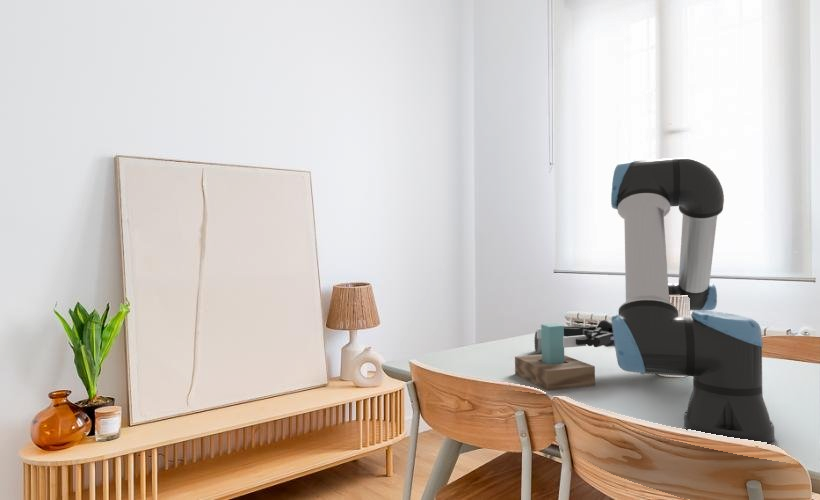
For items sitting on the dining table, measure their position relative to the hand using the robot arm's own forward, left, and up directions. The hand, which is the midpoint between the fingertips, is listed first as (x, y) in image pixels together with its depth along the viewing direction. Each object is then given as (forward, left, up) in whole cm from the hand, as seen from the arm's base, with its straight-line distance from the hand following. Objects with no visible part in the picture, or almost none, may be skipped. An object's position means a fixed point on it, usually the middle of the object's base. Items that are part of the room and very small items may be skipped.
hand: (549, 337), depth 143 cm
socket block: (0, -1, -11) cm, 12 cm away
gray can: (+31, -17, -12) cm, 38 cm away
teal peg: (0, -1, -10) cm, 11 cm away
